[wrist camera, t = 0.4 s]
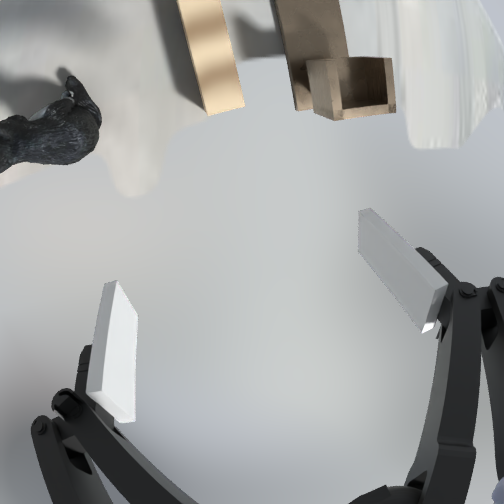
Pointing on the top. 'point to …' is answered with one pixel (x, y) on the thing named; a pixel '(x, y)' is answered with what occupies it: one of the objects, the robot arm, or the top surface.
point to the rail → (211, 55)
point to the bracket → (331, 64)
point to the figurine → (52, 131)
